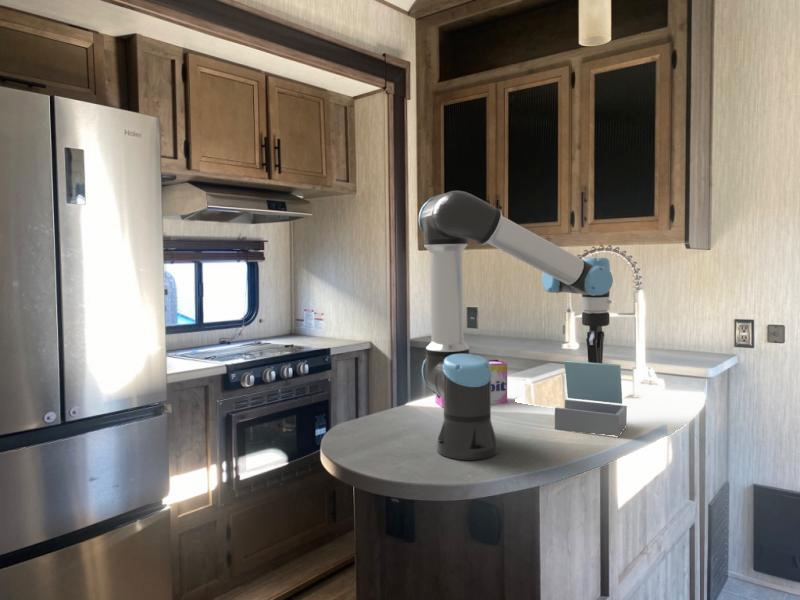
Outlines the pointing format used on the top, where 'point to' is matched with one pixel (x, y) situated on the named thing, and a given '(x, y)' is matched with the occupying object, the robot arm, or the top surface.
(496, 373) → the gum box
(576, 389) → the cover
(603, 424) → the grey open box
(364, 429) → the top surface
